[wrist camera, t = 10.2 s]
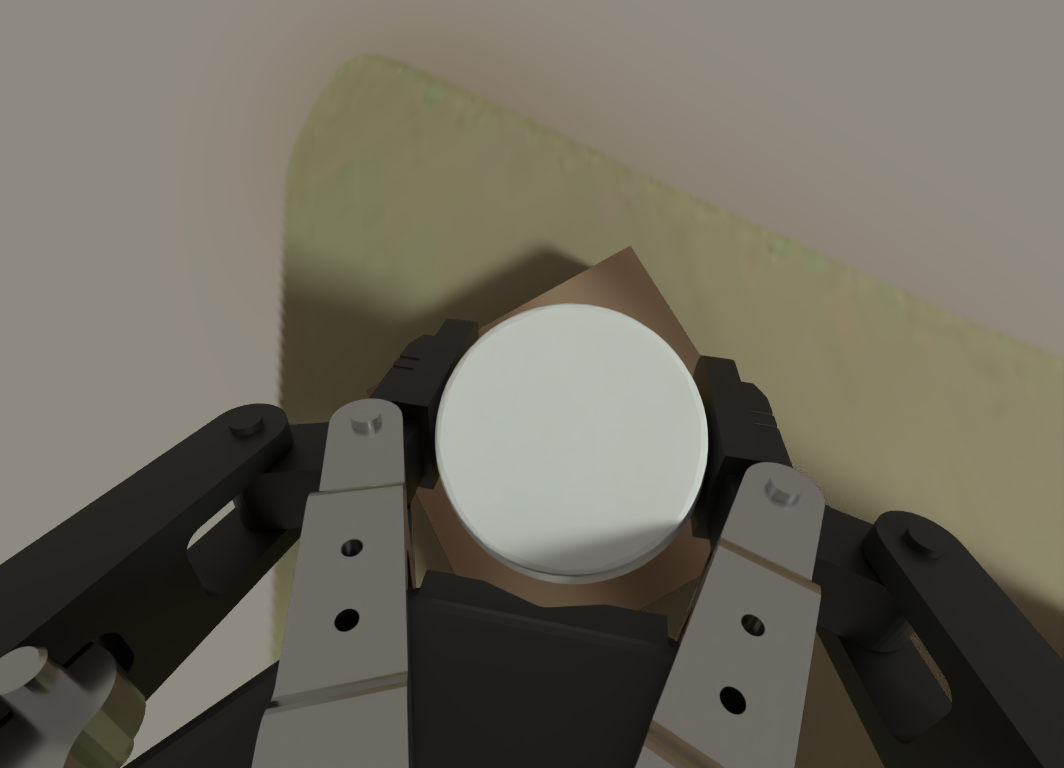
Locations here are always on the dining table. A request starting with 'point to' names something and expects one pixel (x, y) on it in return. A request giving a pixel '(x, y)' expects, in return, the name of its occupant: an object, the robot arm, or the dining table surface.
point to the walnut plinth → (684, 558)
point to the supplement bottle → (572, 443)
